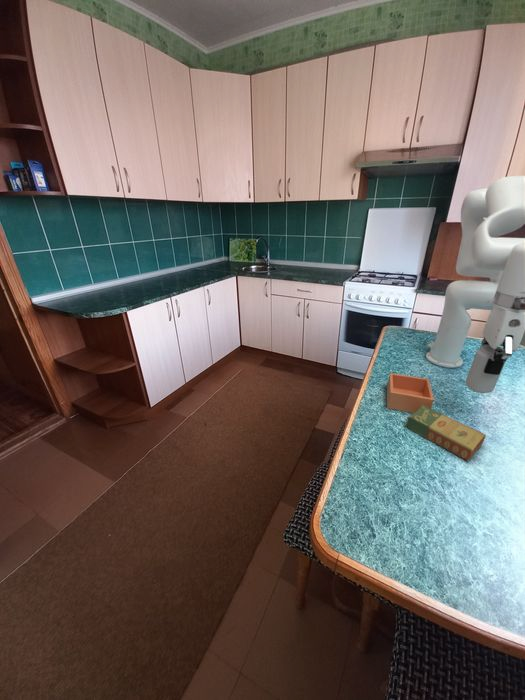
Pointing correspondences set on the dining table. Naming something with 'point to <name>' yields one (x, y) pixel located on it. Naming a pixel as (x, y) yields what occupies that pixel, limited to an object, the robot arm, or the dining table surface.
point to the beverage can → (482, 371)
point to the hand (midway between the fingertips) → (487, 365)
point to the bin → (408, 393)
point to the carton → (446, 432)
